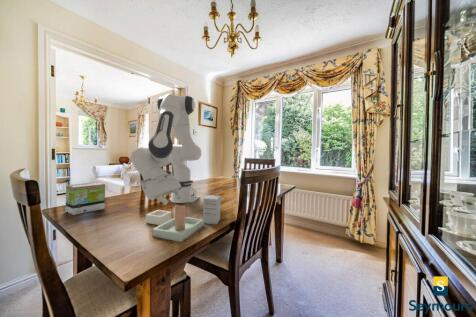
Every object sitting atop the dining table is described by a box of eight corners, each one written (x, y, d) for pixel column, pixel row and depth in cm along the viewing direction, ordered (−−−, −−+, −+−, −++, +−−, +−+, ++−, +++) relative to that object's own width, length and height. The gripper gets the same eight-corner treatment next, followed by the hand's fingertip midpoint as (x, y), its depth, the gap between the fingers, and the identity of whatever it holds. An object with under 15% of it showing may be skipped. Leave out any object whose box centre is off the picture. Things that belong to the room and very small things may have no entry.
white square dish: (157, 217, 104) (157, 209, 104) (171, 219, 102) (171, 211, 101) (145, 222, 96) (145, 214, 96) (160, 225, 94) (160, 216, 93)
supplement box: (206, 218, 105) (207, 194, 105) (220, 219, 104) (221, 195, 104) (202, 223, 98) (203, 197, 98) (216, 224, 97) (217, 199, 97)
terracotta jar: (178, 226, 91) (178, 204, 91) (186, 227, 90) (187, 205, 89) (172, 229, 87) (172, 207, 87) (181, 231, 86) (181, 208, 85)
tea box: (73, 215, 102) (74, 187, 101) (65, 212, 107) (65, 184, 106) (105, 208, 115) (105, 183, 114) (96, 205, 120) (96, 181, 119)
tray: (178, 221, 99) (178, 215, 99) (203, 225, 95) (203, 219, 95) (152, 236, 82) (152, 229, 82) (182, 242, 78) (182, 234, 78)
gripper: (142, 175, 81) (162, 202, 79) (173, 171, 100) (189, 192, 98) (133, 185, 83) (153, 212, 80) (165, 179, 102) (181, 200, 100)
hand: (173, 201), depth 89 cm, fingers open, 8 cm apart
